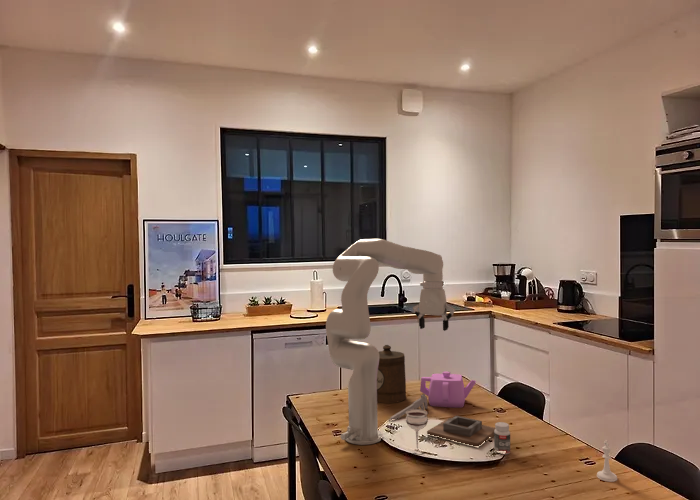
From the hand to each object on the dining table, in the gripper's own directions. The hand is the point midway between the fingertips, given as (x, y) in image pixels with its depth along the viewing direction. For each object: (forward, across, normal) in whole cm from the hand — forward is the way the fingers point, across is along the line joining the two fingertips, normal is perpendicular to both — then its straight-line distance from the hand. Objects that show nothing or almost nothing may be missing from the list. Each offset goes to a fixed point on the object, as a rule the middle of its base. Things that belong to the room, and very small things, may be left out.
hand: (433, 329), depth 198 cm
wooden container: (+30, -21, +1) cm, 37 cm away
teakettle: (+31, +3, +7) cm, 31 cm away
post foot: (+30, +20, -23) cm, 43 cm away
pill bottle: (+30, +35, -31) cm, 56 cm away
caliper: (+31, -5, -14) cm, 34 cm away
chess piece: (+30, +64, -34) cm, 78 cm away
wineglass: (+31, +12, -44) cm, 54 cm away
